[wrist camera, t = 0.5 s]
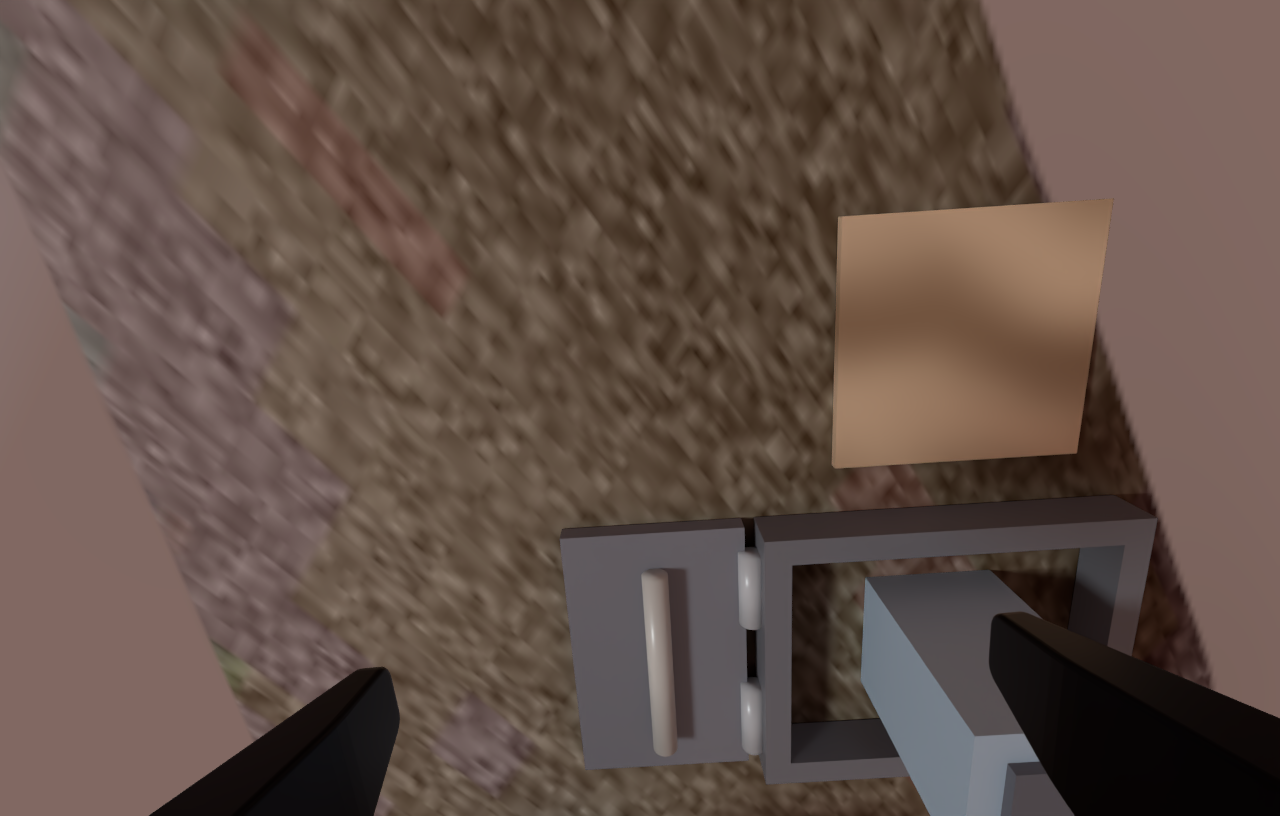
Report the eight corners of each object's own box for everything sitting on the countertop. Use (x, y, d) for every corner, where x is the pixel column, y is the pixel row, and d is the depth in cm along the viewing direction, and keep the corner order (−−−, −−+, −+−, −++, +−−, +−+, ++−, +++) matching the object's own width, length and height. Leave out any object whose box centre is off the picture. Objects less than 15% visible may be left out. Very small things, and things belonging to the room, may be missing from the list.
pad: (1069, 449, 23) (1076, 453, 22) (831, 464, 23) (835, 468, 22) (1104, 199, 20) (1113, 198, 20) (838, 217, 20) (842, 216, 20)
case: (1075, 725, 26) (1110, 764, 24) (586, 754, 26) (583, 795, 24) (1114, 494, 23) (1157, 518, 21) (562, 529, 23) (555, 555, 21)
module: (978, 673, 25) (1139, 876, 17) (860, 680, 25) (967, 886, 17) (989, 569, 24) (1170, 737, 16) (865, 577, 24) (983, 748, 16)
